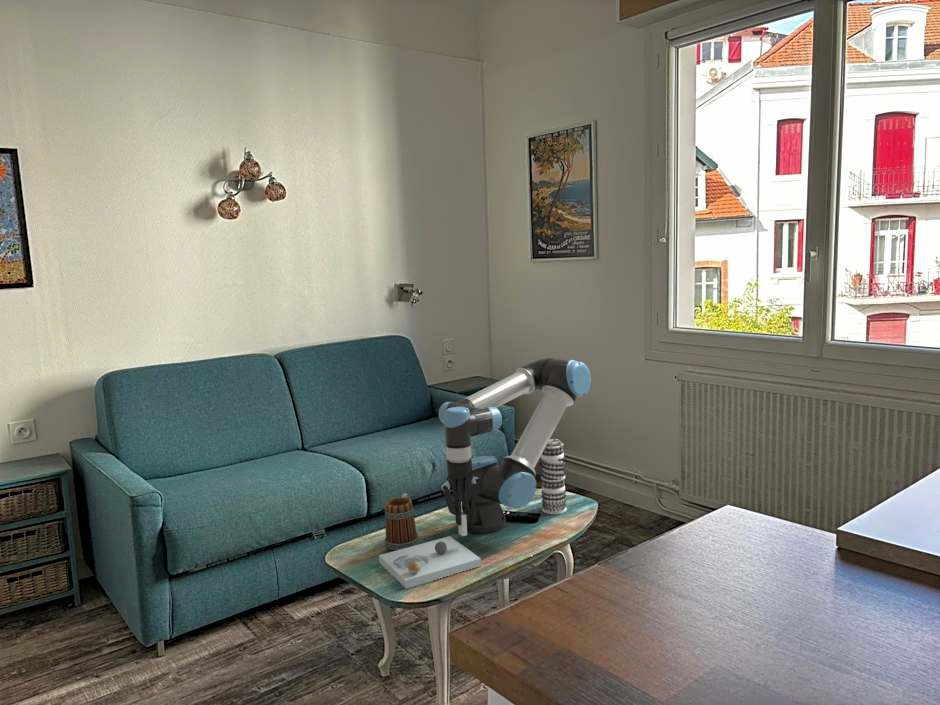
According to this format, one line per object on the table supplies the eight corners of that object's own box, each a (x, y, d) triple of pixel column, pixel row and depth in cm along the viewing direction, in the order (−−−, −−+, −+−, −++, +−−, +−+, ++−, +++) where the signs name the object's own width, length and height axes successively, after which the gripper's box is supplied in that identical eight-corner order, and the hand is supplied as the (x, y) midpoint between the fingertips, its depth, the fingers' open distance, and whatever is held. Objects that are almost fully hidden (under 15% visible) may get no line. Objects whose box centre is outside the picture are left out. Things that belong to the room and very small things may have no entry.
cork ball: (417, 568, 207) (416, 557, 207) (422, 573, 204) (422, 561, 203) (406, 572, 205) (405, 560, 205) (411, 577, 202) (410, 564, 202)
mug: (413, 554, 223) (410, 507, 221) (380, 553, 225) (377, 507, 223) (426, 534, 238) (423, 490, 236) (395, 533, 240) (392, 489, 238)
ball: (443, 549, 219) (443, 538, 218) (449, 554, 216) (448, 542, 215) (433, 552, 217) (432, 541, 217) (438, 557, 214) (437, 545, 214)
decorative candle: (561, 503, 258) (558, 435, 255) (571, 512, 250) (569, 442, 246) (537, 507, 256) (534, 438, 252) (547, 516, 247) (544, 445, 243)
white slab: (450, 543, 229) (449, 536, 229) (481, 566, 212) (480, 558, 212) (379, 563, 218) (378, 555, 218) (406, 588, 201) (405, 580, 200)
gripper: (472, 452, 222) (475, 525, 226) (434, 460, 216) (438, 535, 220) (484, 458, 216) (487, 533, 219) (445, 466, 210) (449, 543, 213)
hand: (463, 534), depth 219 cm, fingers closed
